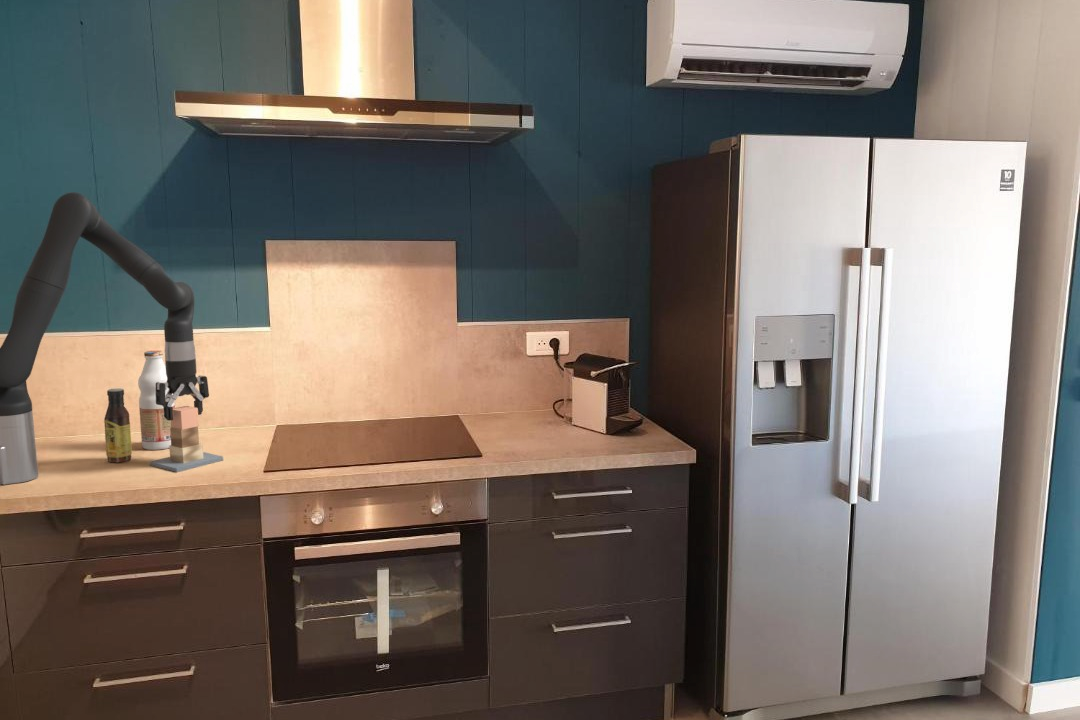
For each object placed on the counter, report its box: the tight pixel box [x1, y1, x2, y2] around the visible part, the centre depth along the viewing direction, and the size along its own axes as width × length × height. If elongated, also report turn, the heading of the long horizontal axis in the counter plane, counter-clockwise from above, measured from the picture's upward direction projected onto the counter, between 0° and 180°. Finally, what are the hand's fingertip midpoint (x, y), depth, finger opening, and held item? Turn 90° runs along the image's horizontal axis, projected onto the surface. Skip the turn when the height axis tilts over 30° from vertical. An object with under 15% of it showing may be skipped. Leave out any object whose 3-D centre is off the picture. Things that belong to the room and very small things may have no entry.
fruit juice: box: [137, 350, 176, 451], centre depth 241 cm, size 9×9×28 cm
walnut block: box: [170, 426, 200, 448], centre depth 225 cm, size 5×5×5 cm
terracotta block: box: [171, 405, 200, 430], centre depth 224 cm, size 5×5×5 cm
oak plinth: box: [168, 442, 204, 463], centre depth 226 cm, size 6×6×4 cm
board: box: [149, 451, 224, 473], centre depth 226 cm, size 14×12×1 cm
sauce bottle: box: [104, 387, 133, 464], centre depth 227 cm, size 6×6×20 cm
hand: (184, 417), depth 224 cm, fingers open, 8 cm apart
